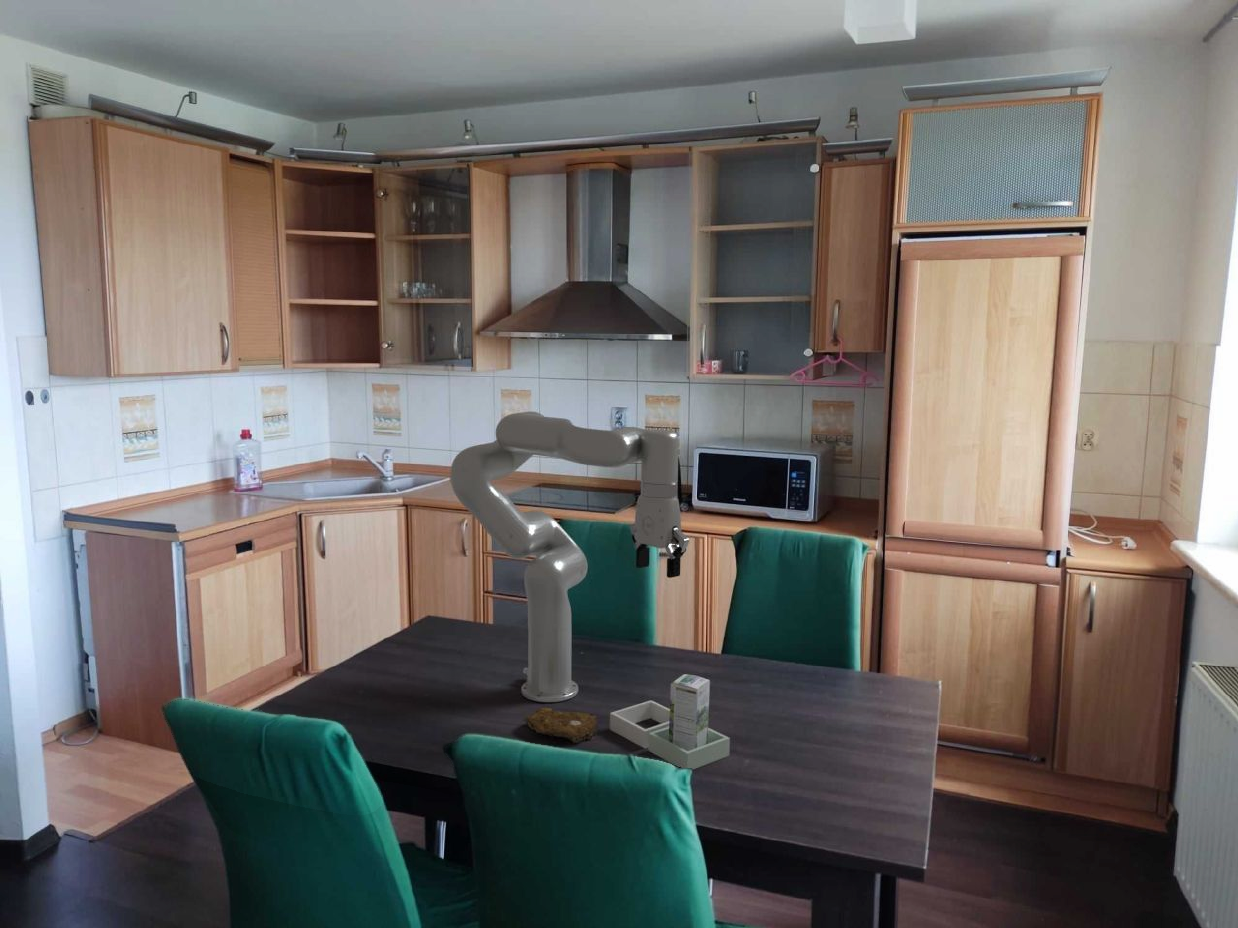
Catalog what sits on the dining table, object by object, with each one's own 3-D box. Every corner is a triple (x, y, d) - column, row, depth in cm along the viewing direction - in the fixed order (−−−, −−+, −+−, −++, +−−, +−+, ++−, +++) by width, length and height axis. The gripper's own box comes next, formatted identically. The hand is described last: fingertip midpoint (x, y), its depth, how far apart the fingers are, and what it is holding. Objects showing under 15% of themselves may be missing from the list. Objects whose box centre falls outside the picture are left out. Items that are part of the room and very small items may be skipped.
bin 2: (648, 750, 176) (648, 733, 176) (690, 735, 183) (690, 719, 182) (687, 771, 168) (687, 753, 167) (729, 755, 174) (729, 737, 174)
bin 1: (609, 729, 185) (610, 712, 185) (650, 716, 192) (651, 700, 192) (644, 748, 177) (645, 731, 176) (686, 733, 184) (686, 717, 183)
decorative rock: (514, 743, 180) (589, 752, 177) (514, 723, 179) (589, 733, 177) (531, 716, 191) (601, 725, 188) (531, 698, 190) (602, 707, 188)
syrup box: (680, 743, 179) (682, 672, 177) (708, 750, 176) (710, 678, 174) (667, 755, 174) (669, 681, 172) (696, 762, 171) (697, 688, 169)
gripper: (618, 486, 193) (617, 566, 195) (673, 498, 179) (672, 583, 182) (645, 483, 197) (644, 561, 200) (701, 494, 184) (699, 577, 186)
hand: (657, 571), depth 191 cm, fingers open, 9 cm apart
